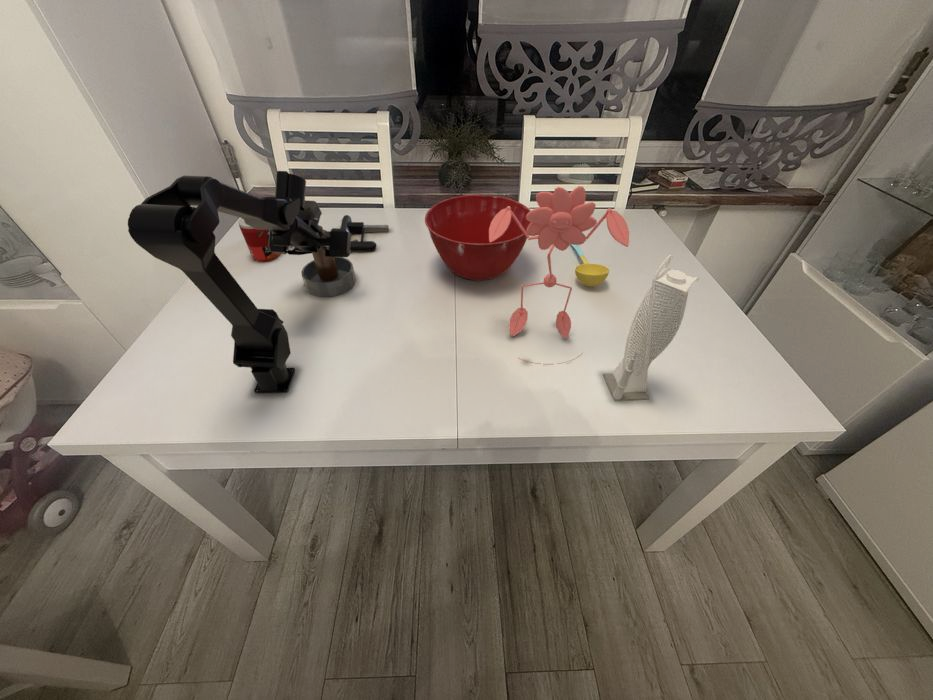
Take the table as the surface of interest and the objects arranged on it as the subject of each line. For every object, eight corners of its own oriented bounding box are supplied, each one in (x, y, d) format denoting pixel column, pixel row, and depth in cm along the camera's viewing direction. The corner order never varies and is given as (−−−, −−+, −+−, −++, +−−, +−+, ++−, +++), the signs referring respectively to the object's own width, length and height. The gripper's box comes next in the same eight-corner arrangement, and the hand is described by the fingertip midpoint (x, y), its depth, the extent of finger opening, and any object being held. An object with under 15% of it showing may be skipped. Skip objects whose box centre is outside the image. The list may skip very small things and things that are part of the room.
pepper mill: (341, 271, 105) (329, 224, 96) (335, 281, 101) (322, 233, 92) (323, 270, 105) (309, 223, 96) (316, 280, 102) (301, 232, 92)
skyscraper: (600, 370, 83) (643, 252, 63) (637, 368, 83) (691, 251, 64) (614, 401, 77) (666, 282, 57) (653, 399, 77) (718, 280, 58)
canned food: (272, 263, 112) (258, 227, 104) (246, 260, 113) (231, 224, 105) (286, 250, 117) (273, 215, 110) (262, 247, 118) (248, 212, 111)
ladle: (577, 291, 102) (580, 270, 99) (556, 259, 124) (557, 241, 121) (611, 290, 102) (615, 269, 99) (584, 258, 124) (586, 240, 121)
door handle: (388, 214, 130) (338, 214, 127) (387, 244, 116) (331, 244, 113) (389, 224, 132) (340, 223, 130) (388, 254, 118) (333, 254, 116)
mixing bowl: (414, 288, 104) (409, 234, 93) (444, 237, 124) (442, 188, 113) (519, 304, 99) (526, 250, 88) (532, 249, 119) (539, 199, 108)
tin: (351, 297, 101) (348, 282, 97) (300, 298, 100) (295, 283, 97) (359, 269, 110) (356, 255, 107) (312, 270, 109) (308, 256, 106)
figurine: (485, 316, 95) (493, 167, 71) (592, 325, 93) (638, 175, 69) (479, 361, 84) (486, 203, 60) (600, 372, 82) (658, 213, 58)
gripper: (339, 196, 84) (362, 221, 99) (256, 192, 85) (291, 218, 100) (336, 247, 84) (359, 265, 99) (252, 243, 84) (288, 261, 100)
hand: (324, 251), depth 100 cm, fingers closed on pepper mill, 5 cm apart
